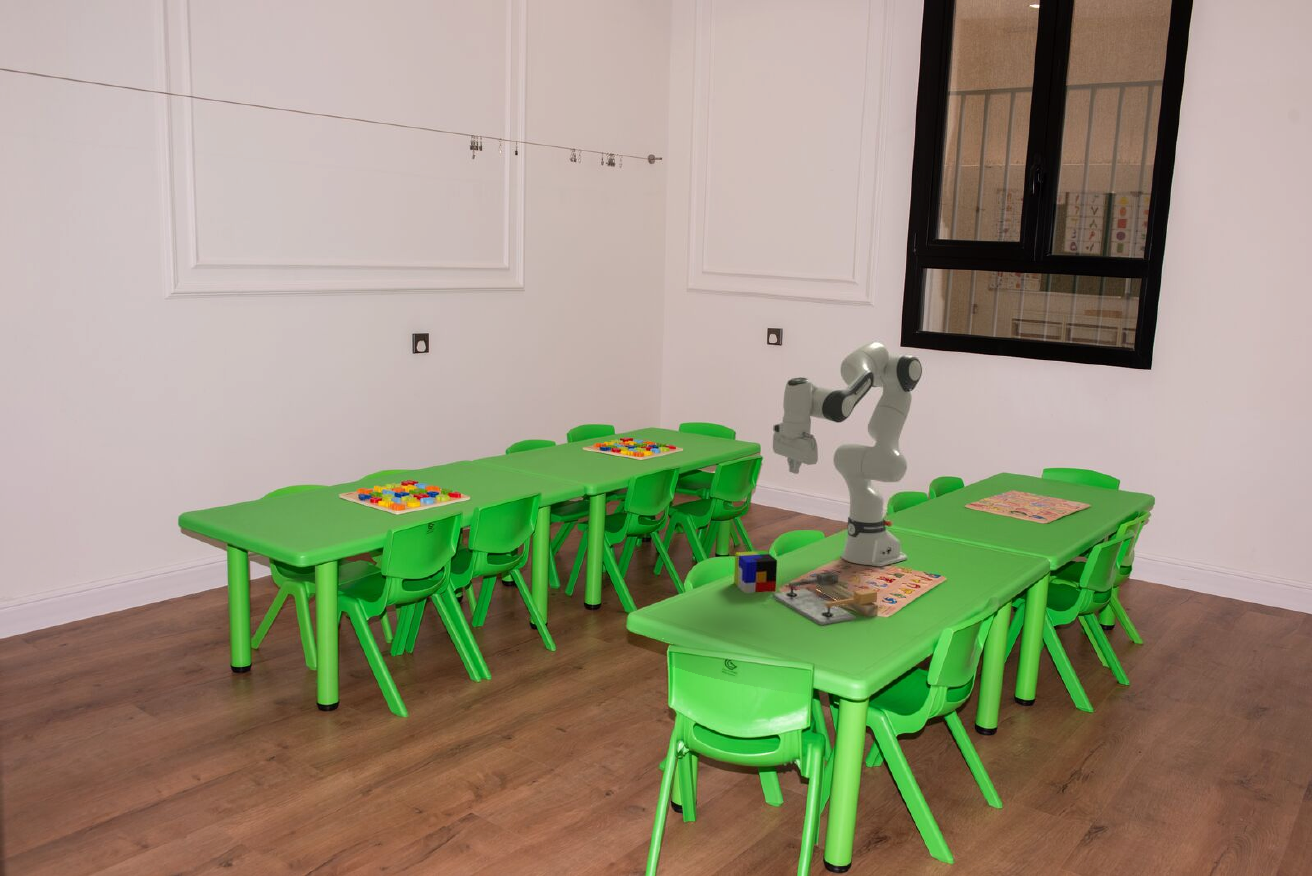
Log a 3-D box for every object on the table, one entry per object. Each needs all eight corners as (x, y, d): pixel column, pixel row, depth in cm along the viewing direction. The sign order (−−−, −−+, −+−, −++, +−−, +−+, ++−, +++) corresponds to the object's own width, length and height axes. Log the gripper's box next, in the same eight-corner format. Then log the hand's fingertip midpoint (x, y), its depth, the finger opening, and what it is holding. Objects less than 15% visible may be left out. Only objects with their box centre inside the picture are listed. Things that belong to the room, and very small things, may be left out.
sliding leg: (869, 604, 308) (870, 588, 307) (876, 607, 305) (877, 592, 304) (822, 612, 300) (823, 596, 299) (828, 615, 298) (829, 600, 297)
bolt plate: (805, 591, 322) (805, 588, 321) (855, 619, 300) (855, 615, 300) (772, 597, 316) (772, 593, 316) (821, 625, 295) (821, 621, 294)
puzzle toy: (745, 593, 319) (746, 562, 317) (734, 583, 328) (735, 552, 326) (775, 591, 322) (777, 560, 320) (763, 581, 331) (765, 550, 329)
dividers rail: (828, 588, 326) (829, 569, 325) (880, 614, 304) (881, 595, 303) (783, 595, 318) (784, 576, 317) (832, 623, 296) (833, 603, 295)
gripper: (824, 435, 320) (821, 479, 322) (786, 423, 337) (784, 465, 340) (807, 436, 317) (804, 480, 319) (770, 424, 335) (768, 466, 337)
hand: (793, 472), depth 330 cm, fingers closed
